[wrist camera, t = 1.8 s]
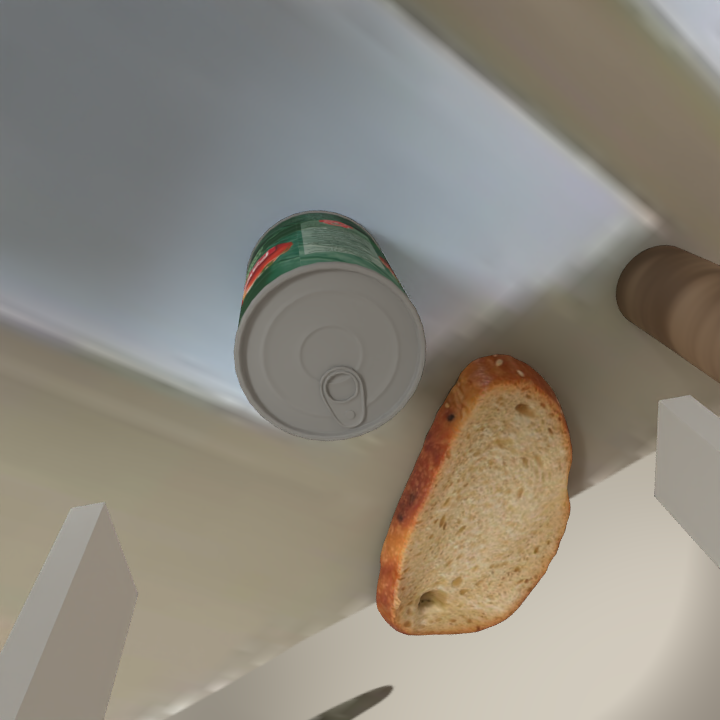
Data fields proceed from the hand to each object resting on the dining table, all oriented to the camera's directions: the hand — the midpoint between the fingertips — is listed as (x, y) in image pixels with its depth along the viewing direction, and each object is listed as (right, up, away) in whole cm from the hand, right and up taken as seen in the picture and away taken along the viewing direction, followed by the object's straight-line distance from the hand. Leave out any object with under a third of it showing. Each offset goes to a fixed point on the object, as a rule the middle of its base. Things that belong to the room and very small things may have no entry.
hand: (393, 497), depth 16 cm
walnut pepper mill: (+17, +8, +24) cm, 30 cm away
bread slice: (+6, -6, +29) cm, 30 cm away
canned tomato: (-3, +8, +21) cm, 23 cm away
